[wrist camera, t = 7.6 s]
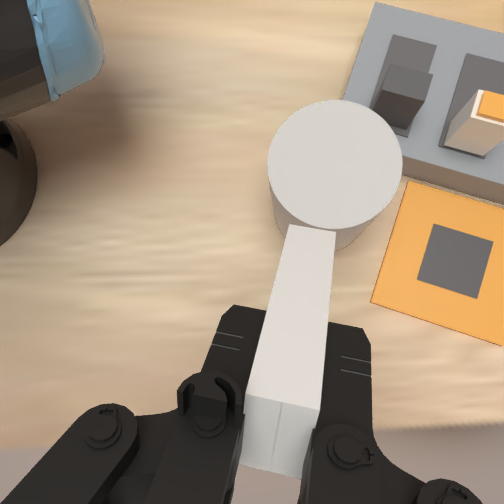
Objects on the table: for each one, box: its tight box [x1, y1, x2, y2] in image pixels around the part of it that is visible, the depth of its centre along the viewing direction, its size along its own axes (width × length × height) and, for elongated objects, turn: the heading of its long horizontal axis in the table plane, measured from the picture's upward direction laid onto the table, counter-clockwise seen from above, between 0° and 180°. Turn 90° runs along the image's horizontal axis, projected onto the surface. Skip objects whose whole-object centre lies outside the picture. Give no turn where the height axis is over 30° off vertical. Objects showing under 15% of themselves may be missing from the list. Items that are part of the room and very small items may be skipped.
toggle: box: [444, 90, 504, 156], centre depth 31 cm, size 3×2×5 cm, turn 71°
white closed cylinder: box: [267, 100, 403, 251], centre depth 32 cm, size 8×8×12 cm
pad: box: [370, 181, 504, 346], centre depth 36 cm, size 11×11×1 cm
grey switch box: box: [343, 2, 504, 204], centre depth 34 cm, size 20×12×9 cm, turn 71°
